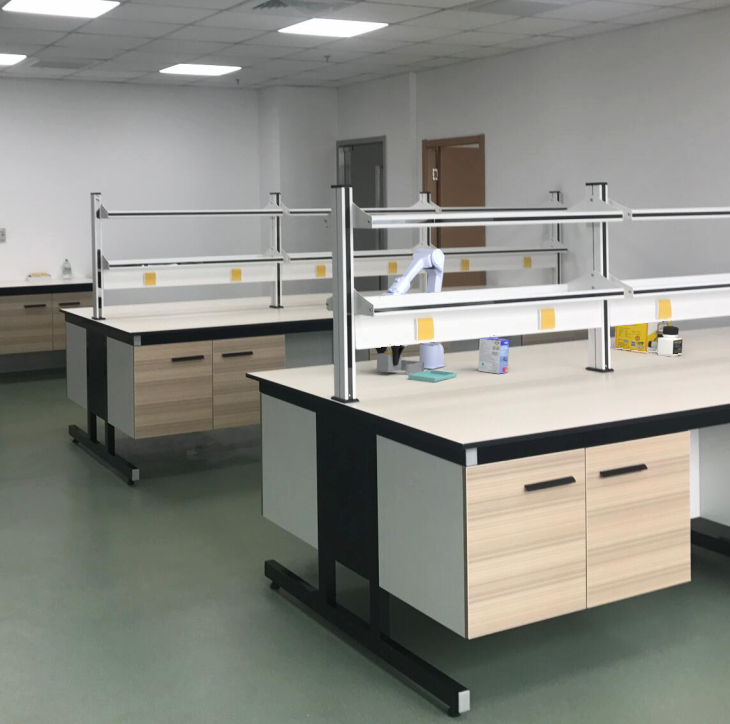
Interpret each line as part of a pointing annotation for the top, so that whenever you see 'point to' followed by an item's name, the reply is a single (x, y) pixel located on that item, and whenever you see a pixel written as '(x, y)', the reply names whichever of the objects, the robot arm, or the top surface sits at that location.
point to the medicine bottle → (670, 341)
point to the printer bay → (412, 366)
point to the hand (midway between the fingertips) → (389, 364)
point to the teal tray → (432, 376)
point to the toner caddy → (387, 362)
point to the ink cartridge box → (493, 355)
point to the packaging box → (640, 336)
